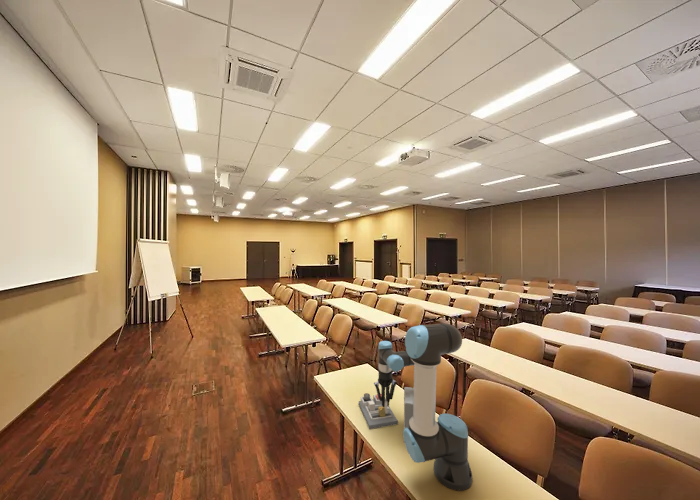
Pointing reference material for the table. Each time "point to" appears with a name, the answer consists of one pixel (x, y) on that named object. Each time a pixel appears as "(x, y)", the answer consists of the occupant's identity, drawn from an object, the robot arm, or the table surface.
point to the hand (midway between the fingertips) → (385, 411)
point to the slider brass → (381, 411)
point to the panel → (376, 414)
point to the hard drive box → (408, 405)
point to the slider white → (371, 406)
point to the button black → (366, 397)
